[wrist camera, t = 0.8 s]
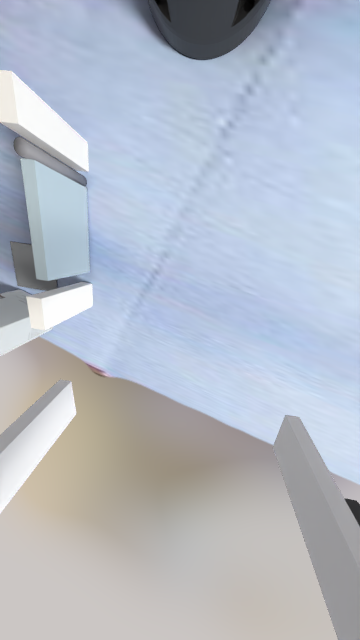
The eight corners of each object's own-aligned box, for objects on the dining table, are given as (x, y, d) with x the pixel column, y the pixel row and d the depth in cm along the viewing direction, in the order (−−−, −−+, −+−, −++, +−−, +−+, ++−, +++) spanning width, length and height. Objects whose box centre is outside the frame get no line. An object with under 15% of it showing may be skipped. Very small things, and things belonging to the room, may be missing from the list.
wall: (74, 141, 28) (-10, 69, 17) (87, 142, 28) (11, 71, 17) (83, 304, 37) (31, 328, 26) (92, 306, 37) (45, 330, 26)
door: (67, 173, 29) (-2, 134, 20) (86, 175, 29) (27, 137, 19) (73, 270, 35) (21, 277, 25) (89, 272, 34) (44, 281, 25)
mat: (11, 241, 34) (10, 241, 34) (53, 247, 34) (52, 247, 34) (18, 285, 37) (17, 285, 37) (57, 291, 37) (56, 292, 37)
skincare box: (58, 305, 38) (-26, 337, 24) (53, 330, 40) (-26, 373, 26) (18, 287, 37) (-91, 310, 24) (15, 314, 40) (-86, 348, 26)
